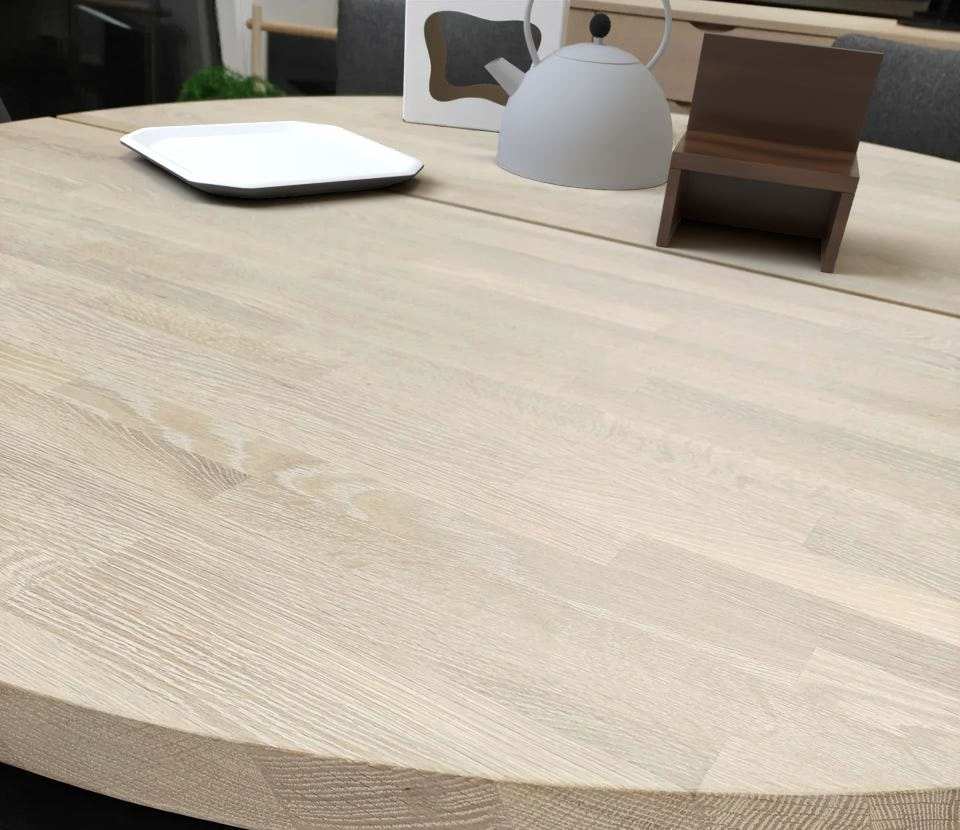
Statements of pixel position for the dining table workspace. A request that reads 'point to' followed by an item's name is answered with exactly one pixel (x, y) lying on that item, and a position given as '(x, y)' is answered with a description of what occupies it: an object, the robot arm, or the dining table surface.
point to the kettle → (586, 114)
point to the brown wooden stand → (772, 139)
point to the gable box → (428, 57)
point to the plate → (272, 158)
